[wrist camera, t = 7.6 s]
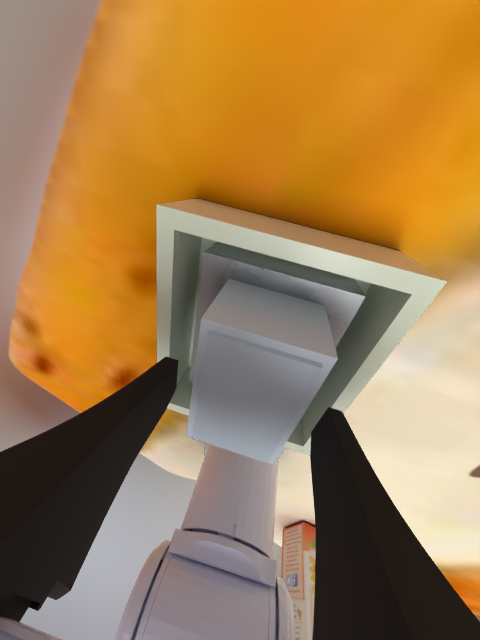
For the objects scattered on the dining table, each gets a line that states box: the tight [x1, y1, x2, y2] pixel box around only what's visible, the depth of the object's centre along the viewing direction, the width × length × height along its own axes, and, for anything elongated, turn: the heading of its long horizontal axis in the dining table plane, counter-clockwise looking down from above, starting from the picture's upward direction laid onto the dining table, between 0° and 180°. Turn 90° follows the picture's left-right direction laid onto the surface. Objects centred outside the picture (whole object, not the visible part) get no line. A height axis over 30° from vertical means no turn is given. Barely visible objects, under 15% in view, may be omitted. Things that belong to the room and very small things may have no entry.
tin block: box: [189, 242, 366, 386], centre depth 14 cm, size 10×8×2 cm
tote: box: [156, 198, 447, 456], centre depth 14 cm, size 14×12×4 cm
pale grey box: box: [186, 279, 338, 464], centre depth 12 cm, size 8×5×4 cm, turn 168°
